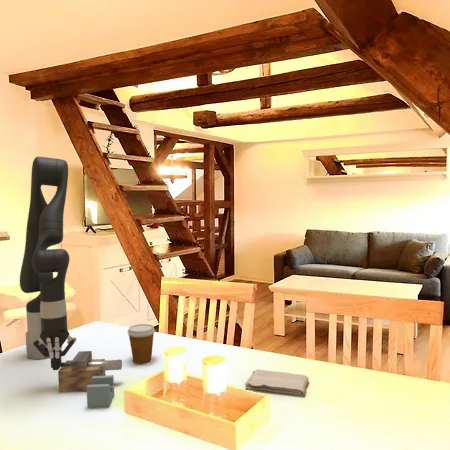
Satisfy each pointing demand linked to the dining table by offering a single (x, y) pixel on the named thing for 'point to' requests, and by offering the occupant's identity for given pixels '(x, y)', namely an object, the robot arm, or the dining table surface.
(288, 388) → the washcloth
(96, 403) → the slate V-block
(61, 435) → the dining table surface
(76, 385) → the walnut bearing block
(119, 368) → the steel axle
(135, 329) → the disposable coffee cup
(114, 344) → the dining table surface
